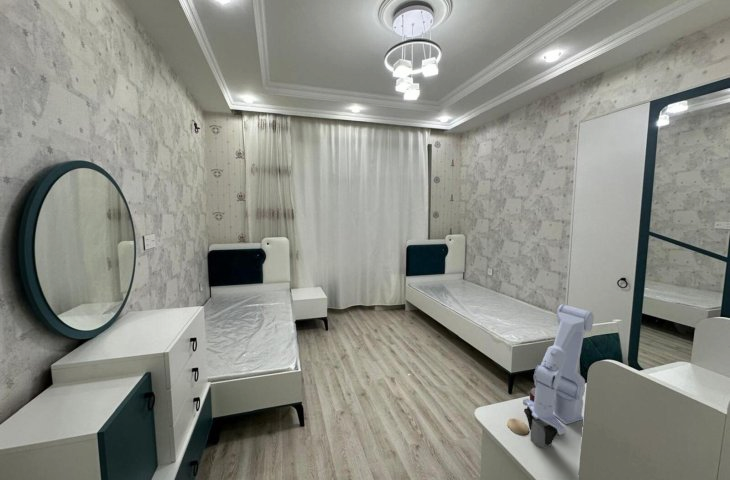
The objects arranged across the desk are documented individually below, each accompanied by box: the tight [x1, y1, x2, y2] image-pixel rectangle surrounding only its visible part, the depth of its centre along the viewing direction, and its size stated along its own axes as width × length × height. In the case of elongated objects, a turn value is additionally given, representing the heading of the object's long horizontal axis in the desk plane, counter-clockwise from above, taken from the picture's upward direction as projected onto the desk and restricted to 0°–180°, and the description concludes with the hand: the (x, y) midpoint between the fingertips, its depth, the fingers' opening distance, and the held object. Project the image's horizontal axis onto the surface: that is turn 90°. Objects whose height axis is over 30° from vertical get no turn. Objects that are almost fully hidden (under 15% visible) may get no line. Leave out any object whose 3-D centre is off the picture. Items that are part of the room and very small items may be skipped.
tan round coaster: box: [506, 418, 530, 436], centre depth 106 cm, size 7×7×1 cm
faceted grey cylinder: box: [529, 417, 551, 449], centre depth 100 cm, size 6×6×7 cm
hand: (540, 436), depth 100 cm, fingers closed on faceted grey cylinder, 6 cm apart
